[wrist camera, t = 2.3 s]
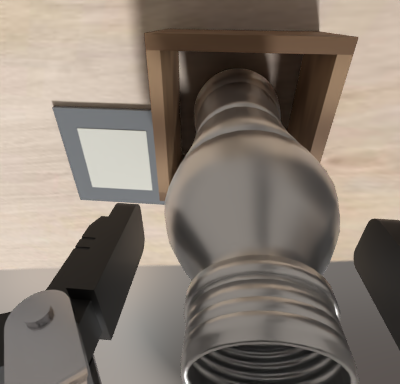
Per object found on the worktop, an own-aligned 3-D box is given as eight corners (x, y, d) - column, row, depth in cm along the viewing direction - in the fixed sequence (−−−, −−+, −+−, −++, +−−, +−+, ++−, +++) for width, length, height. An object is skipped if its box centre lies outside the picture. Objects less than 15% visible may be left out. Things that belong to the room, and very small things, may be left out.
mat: (54, 106, 23) (51, 107, 23) (165, 110, 22) (164, 111, 22) (82, 197, 29) (80, 199, 28) (171, 202, 28) (170, 205, 28)
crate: (167, 28, 19) (144, 33, 14) (319, 31, 18) (358, 37, 13) (173, 161, 25) (159, 200, 20) (288, 167, 25) (305, 209, 19)
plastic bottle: (263, 48, 19) (491, 232, 3) (282, 130, 23) (436, 436, 6) (184, 81, 21) (33, 314, 4) (213, 153, 24) (186, 438, 8)
